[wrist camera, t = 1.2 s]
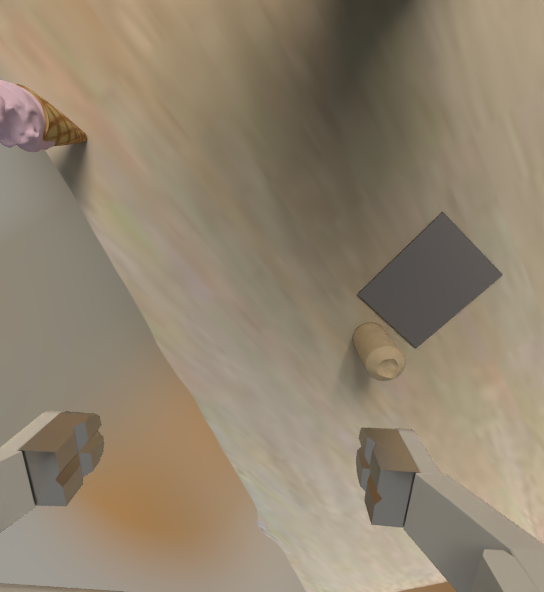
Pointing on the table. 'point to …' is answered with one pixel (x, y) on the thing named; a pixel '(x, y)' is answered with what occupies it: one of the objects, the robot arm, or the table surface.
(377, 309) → the mat
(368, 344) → the candle
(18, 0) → the table surface
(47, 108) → the ice cream cone
